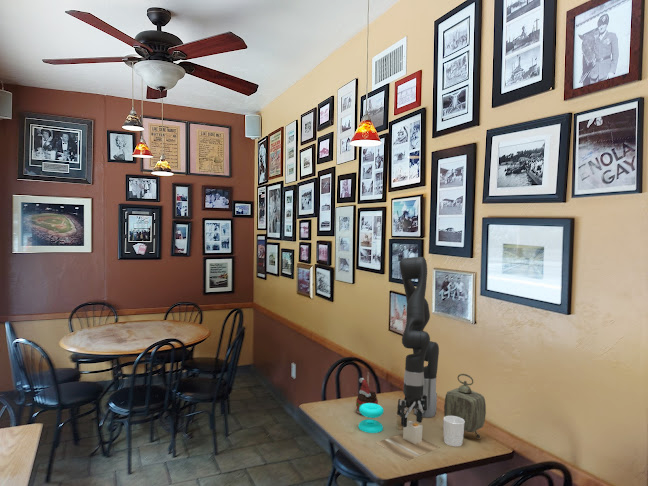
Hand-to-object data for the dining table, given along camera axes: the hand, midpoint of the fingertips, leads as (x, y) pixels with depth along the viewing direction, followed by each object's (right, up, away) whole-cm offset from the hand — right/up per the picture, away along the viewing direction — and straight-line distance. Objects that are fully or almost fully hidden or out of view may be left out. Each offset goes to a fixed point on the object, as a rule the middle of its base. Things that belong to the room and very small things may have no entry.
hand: (411, 424), depth 170 cm
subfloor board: (-2, -7, -5) cm, 9 cm away
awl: (-3, -7, +10) cm, 13 cm away
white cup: (+16, -8, 0) cm, 18 cm away
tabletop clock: (+22, -9, +9) cm, 25 cm away
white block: (0, -6, 0) cm, 6 cm away
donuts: (-15, -7, +10) cm, 19 cm away
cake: (-15, -7, +29) cm, 33 cm away
